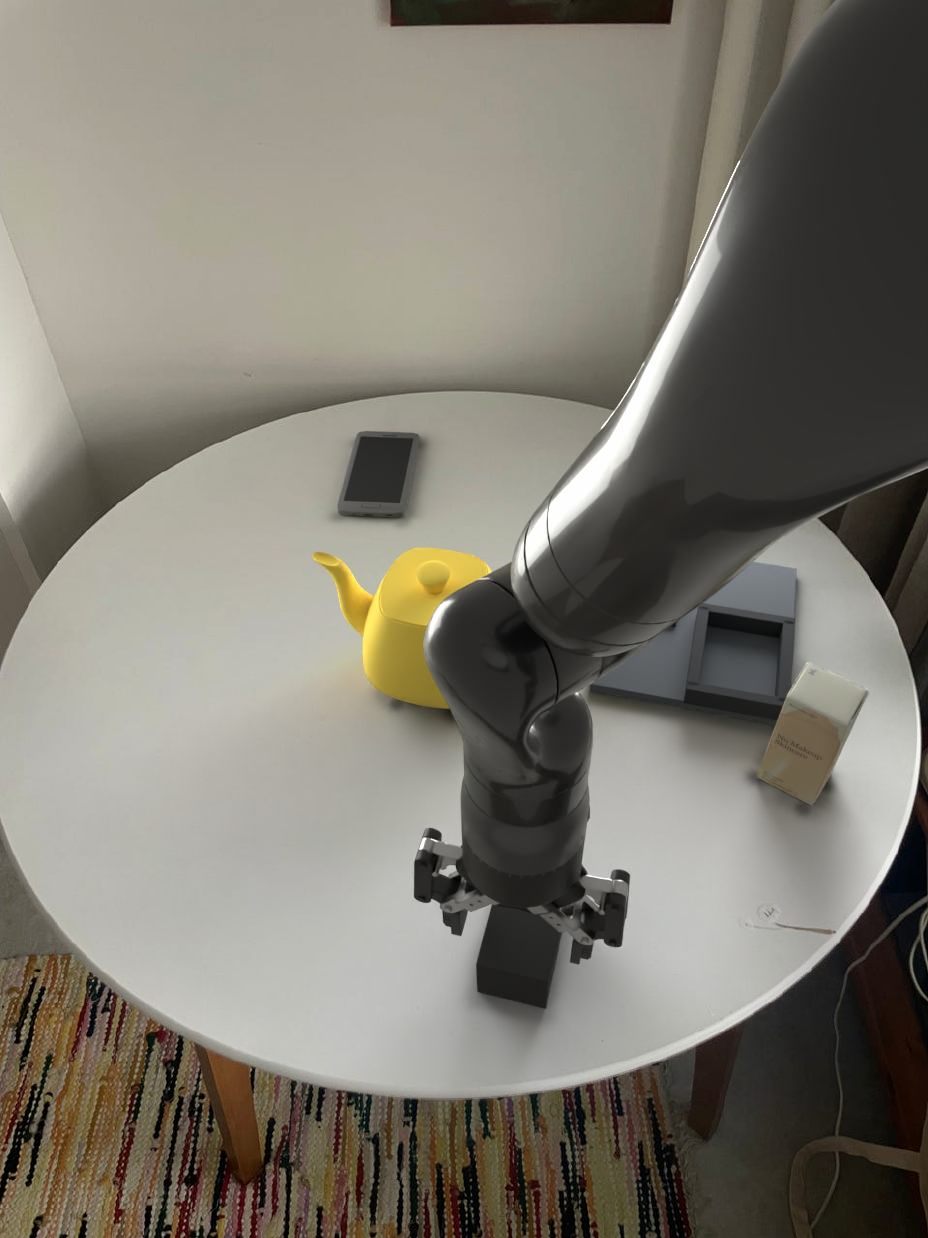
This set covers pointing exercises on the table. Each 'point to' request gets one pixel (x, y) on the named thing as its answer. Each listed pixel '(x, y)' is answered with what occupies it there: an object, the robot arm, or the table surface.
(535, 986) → the black block
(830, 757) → the box
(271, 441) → the table surface
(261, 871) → the table surface
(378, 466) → the cell phone
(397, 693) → the teapot
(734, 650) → the base pad
